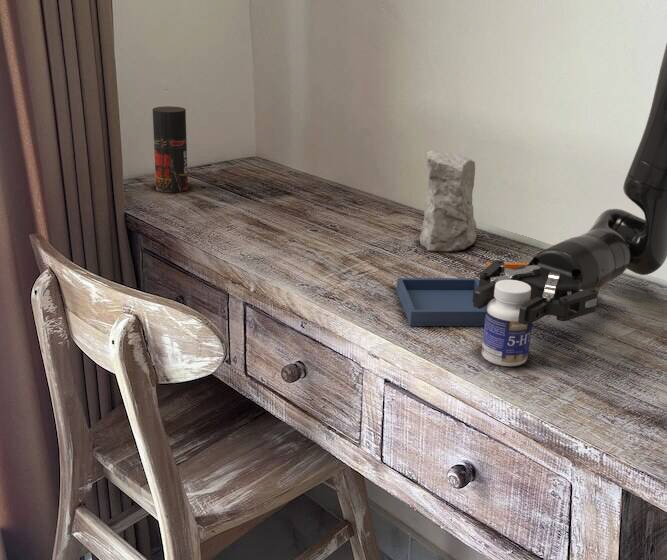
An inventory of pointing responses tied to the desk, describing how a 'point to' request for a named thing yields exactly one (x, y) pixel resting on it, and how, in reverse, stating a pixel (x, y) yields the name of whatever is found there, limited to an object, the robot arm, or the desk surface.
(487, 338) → the pill bottle
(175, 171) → the deodorant
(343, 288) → the desk surface
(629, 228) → the robot arm
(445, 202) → the decorative stone
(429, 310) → the slate-blue tray
